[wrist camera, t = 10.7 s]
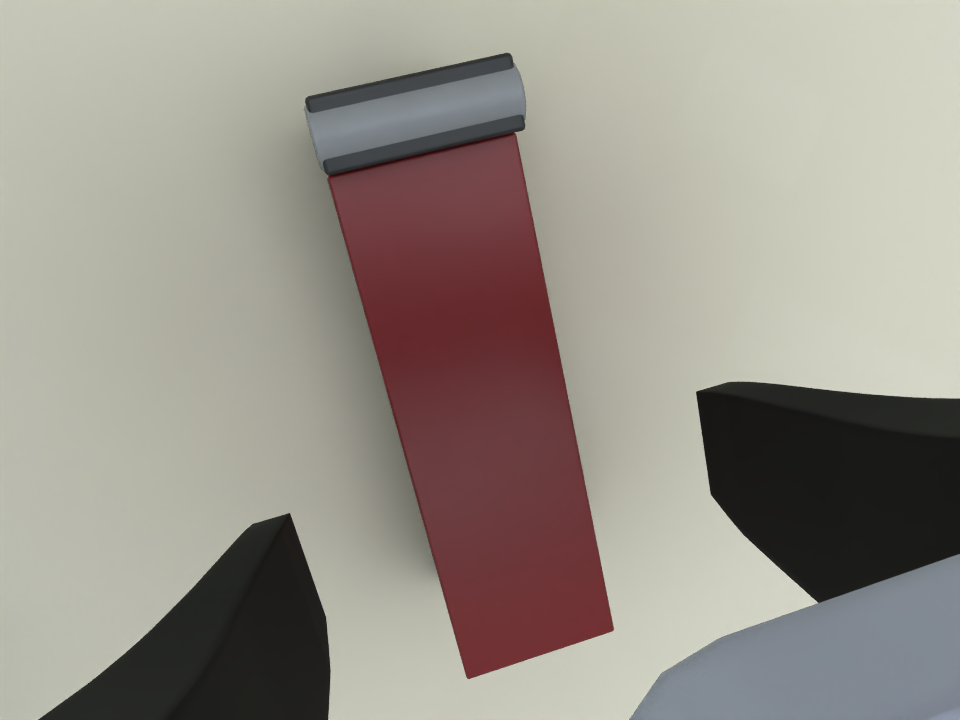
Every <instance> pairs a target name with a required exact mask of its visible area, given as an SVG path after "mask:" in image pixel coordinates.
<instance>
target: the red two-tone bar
mask: <svg viewBox="0 0 960 720" xmlns="http://www.w3.org/2000/svg"><path fill="white" fill-rule="evenodd" d="M305 103H306V106H305V107H304V110H305V115H306V118H307V122H308V126H309V130H310V133H311V137H312V140H313V144H314V147H315V151H316V154H317V158H318V161H319V164H320V167H321V169H322V170H324V171H325V173H326V174H327V175H329V177H328V183H329V187H330V190H331V194H332V197H333V201H334V205H335V208H336V212H337V215H338V219H339V223H340V226H341V230H342V233H343V237H344V240H345V244H346V248H347V251H348V255H349V258H350V262H351V265H352V269H353V273H354V276H355V280H356V283H357V287H358V291H359V294H360V298H361V301H362V305H363V308H364V312H365V316H366V319H367V323H368V326H369V330H370V334H371V337H372V341H373V344H374V348H375V351H376V355H377V359H378V362H379V366H380V369H381V373H382V376H383V380H384V384H385V387H386V391H387V394H388V398H389V402H390V405H391V409H392V412H393V416H394V419H395V423H396V427H397V430H398V434H399V437H400V441H401V445H402V448H403V452H404V455H405V459H406V462H407V466H408V470H409V473H410V477H411V480H412V484H413V487H414V491H415V495H416V498H417V502H418V505H419V509H420V513H421V516H422V520H423V523H424V527H425V530H426V534H427V538H428V541H429V545H430V548H431V552H432V556H433V559H434V563H435V566H436V570H437V573H438V577H439V581H440V584H441V588H442V591H443V595H444V599H445V602H446V606H447V609H448V613H449V616H450V620H451V624H452V627H453V631H454V634H455V638H456V641H457V645H458V649H459V652H460V656H461V659H462V663H463V667H464V670H465V674H466V677H467V678H468V679H470V678H473V677H476V676H479V675H482V674H485V673H488V672H491V671H494V670H498V669H501V668H504V667H507V666H510V665H513V664H516V663H519V662H522V661H525V660H528V659H531V658H534V657H537V656H540V655H543V654H546V653H549V652H552V651H555V650H558V649H561V648H564V647H567V646H570V645H573V644H576V643H579V642H582V641H585V640H588V639H591V638H594V637H597V636H600V635H603V634H606V633H609V632H612V631H613V630H614V627H613V622H612V617H611V612H610V607H609V602H608V597H607V592H606V587H605V582H604V577H603V572H602V567H601V562H600V556H599V551H598V546H597V541H596V536H595V531H594V526H593V521H592V516H591V511H590V506H589V501H588V496H587V491H586V486H585V481H584V476H583V470H582V465H581V460H580V455H579V450H578V445H577V440H576V435H575V430H574V425H573V420H572V415H571V410H570V405H569V400H568V395H567V389H566V384H565V379H564V374H563V369H562V364H561V359H560V354H559V349H558V344H557V339H556V334H555V329H554V324H553V319H552V314H551V309H550V303H549V298H548V293H547V288H546V283H545V278H544V273H543V268H542V263H541V258H540V253H539V248H538V243H537V238H536V233H535V228H534V223H533V217H532V212H531V207H530V202H529V197H528V192H527V187H526V182H525V177H524V172H523V167H522V162H521V157H520V152H519V147H518V142H517V136H516V134H515V133H514V132H519V131H522V130H524V129H525V117H526V99H525V92H524V87H523V83H522V79H521V76H520V73H519V71H518V69H517V67H516V65H515V63H514V62H513V59H512V56H511V54H510V53H504V54H499V55H495V56H490V57H486V58H481V59H477V60H472V61H467V62H463V63H458V64H454V65H449V66H445V67H440V68H436V69H431V70H426V71H422V72H417V73H413V74H408V75H404V76H399V77H394V78H390V79H385V80H381V81H376V82H372V83H367V84H363V85H358V86H353V87H349V88H344V89H340V90H335V91H331V92H326V93H321V94H317V95H312V96H308V97H307V98H306V100H305Z"/></svg>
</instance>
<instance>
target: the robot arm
mask: <svg viewBox="0 0 960 720" xmlns="http://www.w3.org/2000/svg"><path fill="white" fill-rule="evenodd" d="M696 395H697V402H698V409H699V416H700V423H701V429H702V436H703V443H704V450H705V457H706V464H707V471H708V478H709V485H710V492H711V495H712V497H713V498H714V499H715V500H716V502H717V503H718V504H719V506H720V507H721V508H722V509H723V511H724V512H725V513H726V514H727V516H728V517H729V518H730V519H731V521H732V522H733V523H734V524H735V525H736V526H737V528H738V529H739V530H740V531H741V532H742V533H743V535H744V536H745V537H747V538H748V539H749V540H750V541H751V542H752V543H753V544H754V545H755V546H756V547H757V548H758V549H759V550H760V551H762V552H763V553H764V554H765V555H766V556H767V557H768V558H769V559H770V560H771V561H772V562H773V563H775V564H776V565H777V566H778V567H779V568H780V569H781V570H782V571H783V572H785V573H786V574H787V575H788V576H789V577H790V578H791V579H792V580H794V581H795V582H796V583H797V584H798V585H799V586H800V587H801V588H802V589H804V590H805V591H806V592H807V593H808V594H809V595H810V596H811V597H812V598H814V599H815V600H816V601H817V602H818V604H815V605H812V606H809V607H806V608H804V609H801V610H798V611H795V612H792V613H789V614H786V615H783V616H781V617H778V618H775V619H772V620H769V621H766V622H763V623H761V624H758V625H755V626H752V627H749V628H746V629H743V630H741V631H738V632H735V633H732V634H729V635H726V636H723V637H721V638H719V639H717V640H715V641H714V642H712V643H710V644H709V645H707V646H705V647H704V648H702V649H700V650H699V651H697V652H696V653H694V654H692V655H691V656H689V657H687V658H686V659H684V660H682V661H681V662H679V663H677V664H676V665H674V666H673V667H671V668H669V669H668V670H666V671H664V672H663V673H662V674H660V676H659V677H658V679H657V680H656V682H655V683H654V684H653V686H652V687H651V689H650V690H649V692H648V693H647V695H646V696H645V698H644V699H643V700H642V702H641V703H640V705H639V706H638V708H637V709H636V711H635V712H634V713H633V715H632V716H631V718H630V719H629V720H960V399H947V398H913V397H898V396H884V395H871V394H860V393H850V392H840V391H831V390H822V389H814V388H805V387H797V386H788V385H779V384H769V383H757V382H727V383H724V384H721V385H717V386H714V387H710V388H707V389H704V390H700V391H697V392H696ZM329 692H330V657H329V644H328V634H327V623H326V616H325V613H324V610H323V607H322V604H321V602H320V599H319V596H318V593H317V590H316V587H315V584H314V581H313V578H312V576H311V573H310V570H309V567H308V564H307V561H306V558H305V555H304V552H303V550H302V547H301V544H300V541H299V538H298V535H297V532H296V529H295V526H294V523H293V521H292V518H291V515H290V513H288V514H285V515H282V516H278V517H275V518H272V519H268V520H265V521H262V522H258V523H255V524H252V525H251V526H250V527H249V528H247V529H246V530H245V531H244V532H243V533H242V534H241V535H240V536H239V537H238V539H237V540H236V541H235V542H234V543H233V544H232V545H231V546H230V547H229V548H228V550H227V551H226V552H225V553H224V554H223V555H222V556H221V557H220V559H219V560H218V561H217V562H216V563H215V564H214V565H213V566H212V567H211V568H210V570H209V571H208V572H207V573H206V574H205V575H204V576H203V577H202V578H201V580H200V581H199V582H198V583H197V584H196V585H195V586H194V587H193V588H192V589H191V590H190V591H189V592H188V593H187V594H186V595H185V596H184V597H183V598H182V599H181V600H180V601H179V602H178V603H177V604H176V605H175V606H174V607H173V608H172V609H171V610H170V612H169V613H168V614H167V615H166V616H165V617H164V618H163V619H162V620H161V621H160V622H159V623H158V624H157V625H156V626H155V627H154V628H153V629H152V630H150V631H149V632H148V633H147V634H146V635H145V636H144V637H143V638H142V639H141V640H140V641H139V642H137V643H136V644H135V645H134V646H133V647H132V648H131V649H130V650H128V651H127V652H126V653H125V654H124V655H123V656H121V657H120V658H119V659H118V660H117V661H115V662H114V663H113V664H112V665H110V666H109V667H108V668H107V669H106V670H104V671H103V672H102V673H101V674H100V675H98V676H97V677H96V678H95V679H93V680H92V681H91V682H90V683H88V684H87V685H86V686H84V687H83V688H81V689H80V690H79V691H77V692H76V693H75V694H73V695H72V696H70V697H69V698H68V699H66V700H65V701H63V702H62V703H61V704H59V705H58V706H57V707H55V708H54V709H52V710H51V711H50V712H48V713H47V714H45V715H44V716H43V717H41V718H40V719H39V720H328V711H329Z"/></svg>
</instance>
